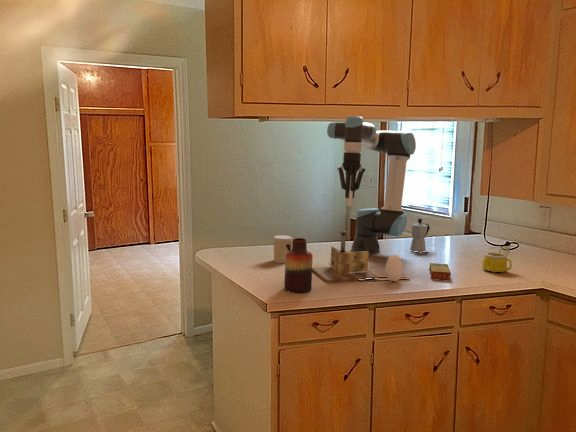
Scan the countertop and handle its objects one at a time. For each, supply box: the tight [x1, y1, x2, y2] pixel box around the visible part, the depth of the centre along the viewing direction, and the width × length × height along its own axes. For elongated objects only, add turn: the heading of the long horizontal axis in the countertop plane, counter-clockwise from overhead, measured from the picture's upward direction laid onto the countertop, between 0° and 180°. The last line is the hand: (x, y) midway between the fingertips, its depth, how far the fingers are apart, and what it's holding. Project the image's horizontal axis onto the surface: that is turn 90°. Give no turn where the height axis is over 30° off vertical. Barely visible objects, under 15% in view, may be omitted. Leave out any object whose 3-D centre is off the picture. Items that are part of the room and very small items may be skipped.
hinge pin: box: [339, 229, 348, 252], centre depth 222 cm, size 3×3×11 cm
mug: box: [481, 246, 513, 273], centre depth 240 cm, size 13×11×12 cm
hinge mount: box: [312, 246, 380, 283], centre depth 226 cm, size 24×20×11 cm
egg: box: [384, 254, 404, 282], centre depth 217 cm, size 7×7×12 cm
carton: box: [428, 262, 452, 282], centre depth 230 cm, size 8×16×4 cm, turn 168°
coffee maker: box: [409, 218, 430, 252], centre depth 278 cm, size 15×9×18 cm, turn 129°
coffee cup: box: [272, 234, 293, 264], centre depth 247 cm, size 9×9×12 cm
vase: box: [284, 237, 314, 294], centre depth 202 cm, size 11×11×20 cm
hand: (349, 205), depth 227 cm, fingers closed
